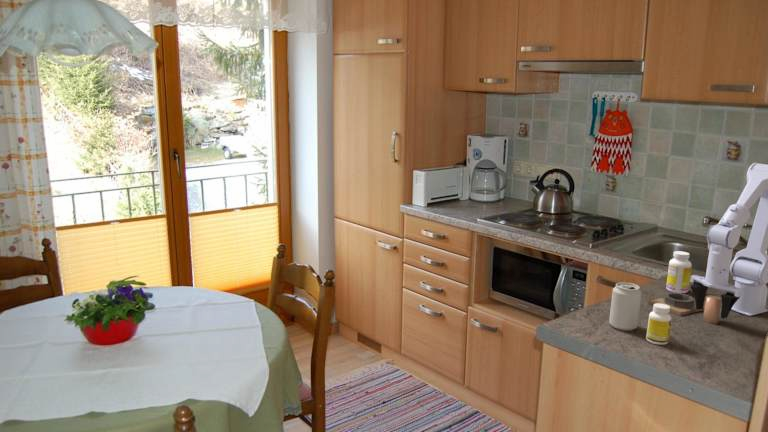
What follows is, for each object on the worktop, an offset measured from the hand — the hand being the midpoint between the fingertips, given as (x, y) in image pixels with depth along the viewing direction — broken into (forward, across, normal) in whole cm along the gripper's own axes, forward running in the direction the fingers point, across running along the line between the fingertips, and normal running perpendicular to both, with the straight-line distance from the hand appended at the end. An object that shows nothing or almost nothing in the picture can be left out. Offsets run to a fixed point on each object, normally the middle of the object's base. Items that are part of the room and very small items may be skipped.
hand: (711, 313), depth 183 cm
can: (+3, -8, -27) cm, 28 cm away
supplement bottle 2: (+2, -22, +15) cm, 27 cm away
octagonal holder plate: (+2, -12, +2) cm, 12 cm away
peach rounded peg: (+2, 0, 0) cm, 2 cm away
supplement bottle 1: (+3, +3, -27) cm, 27 cm away
